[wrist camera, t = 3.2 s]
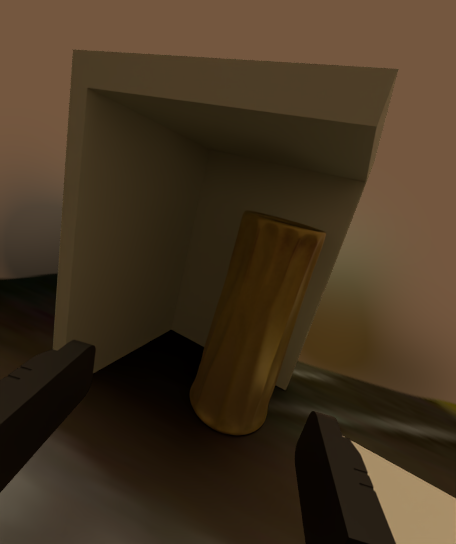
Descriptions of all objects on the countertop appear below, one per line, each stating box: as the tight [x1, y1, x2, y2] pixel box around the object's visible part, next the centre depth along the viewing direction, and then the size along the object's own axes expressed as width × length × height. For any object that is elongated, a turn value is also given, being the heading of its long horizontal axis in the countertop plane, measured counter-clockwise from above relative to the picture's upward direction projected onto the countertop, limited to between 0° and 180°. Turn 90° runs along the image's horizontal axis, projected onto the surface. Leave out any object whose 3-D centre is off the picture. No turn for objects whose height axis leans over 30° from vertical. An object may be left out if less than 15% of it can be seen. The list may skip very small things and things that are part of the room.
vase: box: [189, 210, 326, 435], centre depth 19 cm, size 6×6×14 cm
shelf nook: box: [53, 50, 398, 390], centre depth 18 cm, size 14×13×20 cm
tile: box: [343, 436, 456, 544], centre depth 14 cm, size 9×9×1 cm
